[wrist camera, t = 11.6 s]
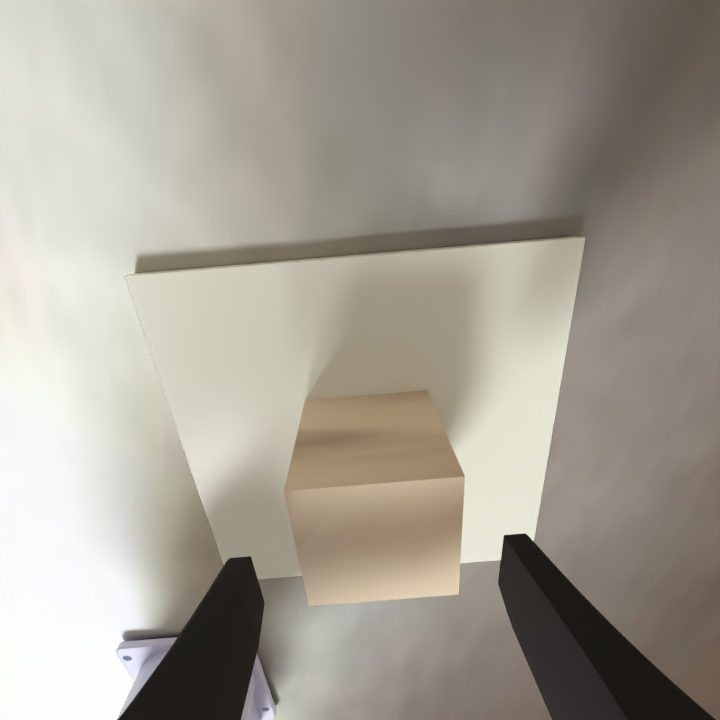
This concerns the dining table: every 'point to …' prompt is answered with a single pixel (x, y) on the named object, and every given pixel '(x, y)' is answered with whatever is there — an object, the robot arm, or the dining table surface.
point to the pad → (363, 372)
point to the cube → (375, 500)
